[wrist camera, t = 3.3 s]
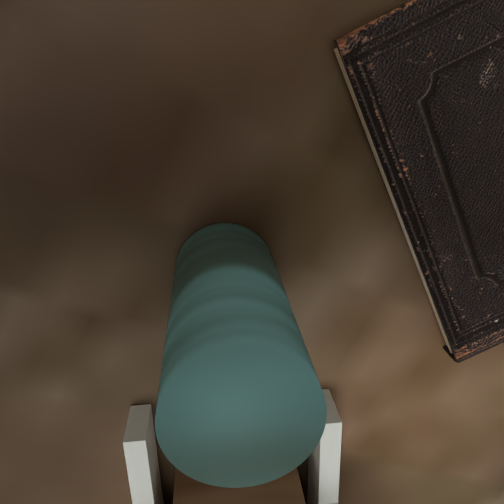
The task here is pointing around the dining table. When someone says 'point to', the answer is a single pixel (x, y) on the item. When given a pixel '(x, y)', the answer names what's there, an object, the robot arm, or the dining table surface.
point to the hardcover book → (441, 150)
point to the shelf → (148, 474)
